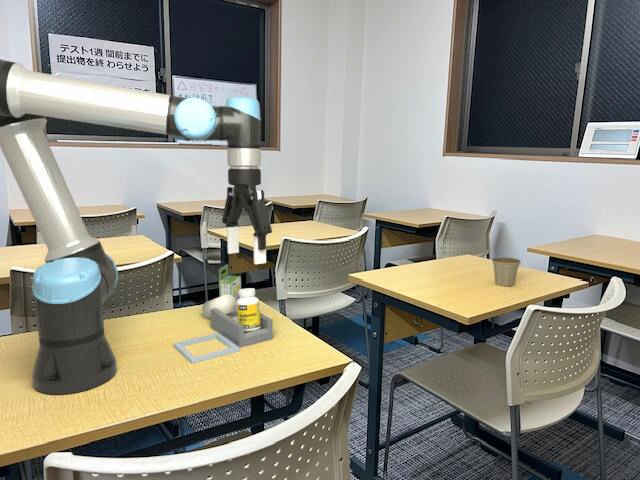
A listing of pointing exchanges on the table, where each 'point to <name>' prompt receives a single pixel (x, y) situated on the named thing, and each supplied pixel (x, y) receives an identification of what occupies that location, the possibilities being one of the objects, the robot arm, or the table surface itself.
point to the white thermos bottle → (220, 305)
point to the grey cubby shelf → (240, 328)
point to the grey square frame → (194, 359)
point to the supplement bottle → (248, 310)
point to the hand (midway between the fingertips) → (246, 258)
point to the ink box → (229, 284)
